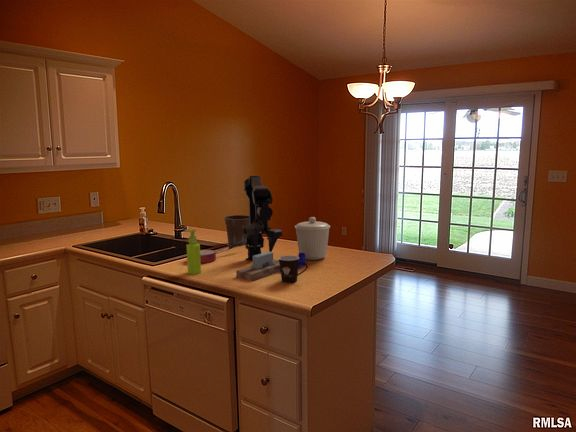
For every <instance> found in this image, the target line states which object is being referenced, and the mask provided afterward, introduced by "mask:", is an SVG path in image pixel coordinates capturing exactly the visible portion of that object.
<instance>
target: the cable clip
mask: <svg viewBox="0 0 576 432" xmlns="http://www.w3.org/2000/svg"><path fill="white" fill-rule="evenodd" d="M297 256H298V257H299V262H305V263H306V264H307V261H306V260H307V259H306V253H301V252H300V253H299V252H298V255H297ZM304 266H305V267H306V265H305V264H304V263H301V264H300V265H299V266H298V270H301V269H302V267H304Z"/></svg>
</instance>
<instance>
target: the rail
mask: <svg viewBox="0 0 576 432" xmlns="http://www.w3.org/2000/svg"><path fill="white" fill-rule="evenodd" d="M262 265H263V269H260V270H258V269H253V265H250V266H245V267H243V268H239V269H236V272H235V273H236V274H235V275H236V278H240V279H244V280H247V281H250V282H251V281H252V282H254V281H257V280H260V279H262V278H265V277H268V276H271V275H274V274H277V273H281V271H280V264H279V259H274V258H273V265H272V266H266V265H264V263H263V264H262Z"/></svg>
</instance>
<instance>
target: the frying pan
mask: <svg viewBox="0 0 576 432" xmlns="http://www.w3.org/2000/svg"><path fill="white" fill-rule="evenodd" d="M240 244H243V241H240V242H238V243H236V244H233V245H229V246H227V247H226V248H221V249H220V250H217V251H216V250H213V249H209V248H208V249H200V260H201V264H202V265H203V264H210V263H213V262H215V261H216V259H217V256H216V255H218V254H221V253H223V252H225V251H227V250H231V249H234V248H235V247H237V246H238V245H240ZM240 246H241V245H240Z"/></svg>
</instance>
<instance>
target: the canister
mask: <svg viewBox="0 0 576 432" xmlns="http://www.w3.org/2000/svg"><path fill="white" fill-rule="evenodd" d="M294 228H295V232H296V233H295V234H296V240H297V248H298V254H299V253H300V252H301V253H306V260H310V261H317V260H322V259H324V258H325V257H326V255H327V250H328V243H329V236H330V235H329V233H330V229H331V225H330V224H328V223H327V222H323V221H317V218H316V217H315V216H310V217H309V218H308V221H302V222H299V223H297V224H296V225H294Z"/></svg>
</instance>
